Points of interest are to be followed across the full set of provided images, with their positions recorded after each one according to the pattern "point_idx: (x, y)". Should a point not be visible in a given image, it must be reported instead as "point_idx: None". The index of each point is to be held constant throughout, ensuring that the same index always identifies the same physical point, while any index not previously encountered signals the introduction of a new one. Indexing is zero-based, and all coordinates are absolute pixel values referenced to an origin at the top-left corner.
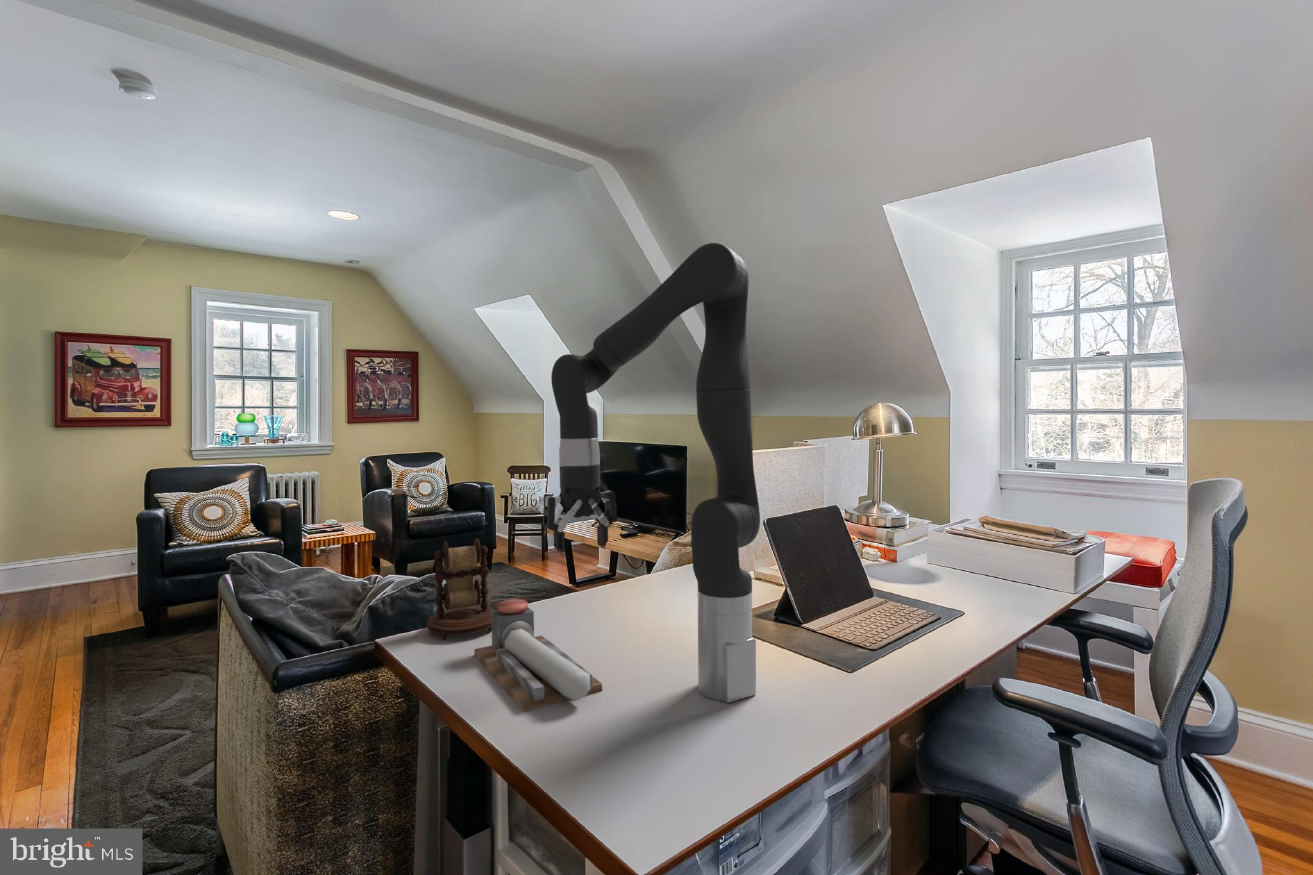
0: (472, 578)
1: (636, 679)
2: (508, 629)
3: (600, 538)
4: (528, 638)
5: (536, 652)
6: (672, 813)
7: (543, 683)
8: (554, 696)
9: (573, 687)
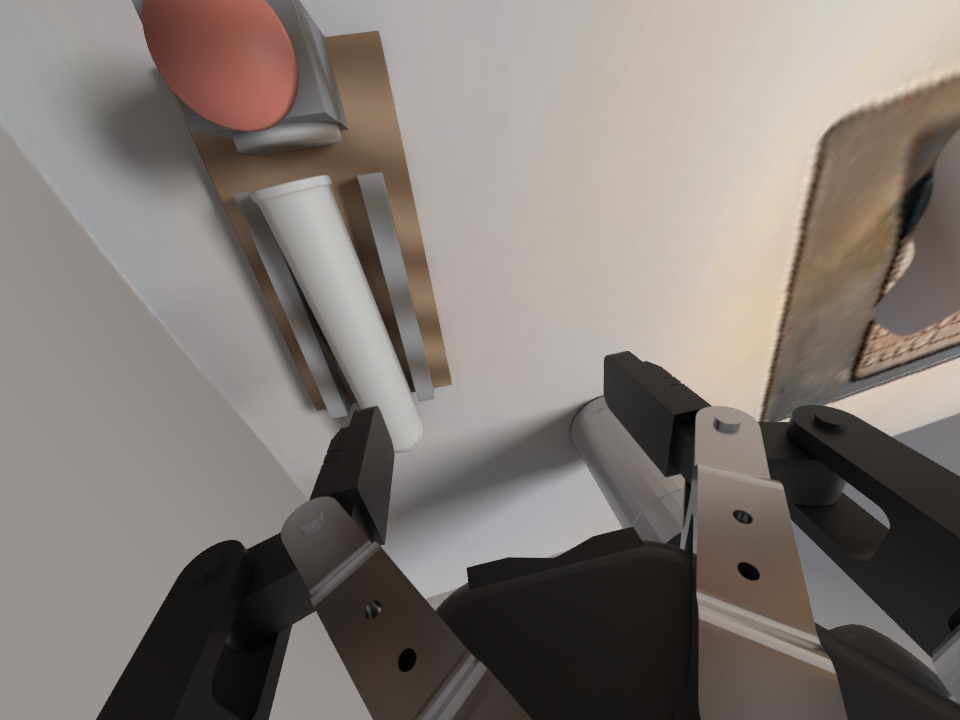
0: None
1: (515, 359)
2: (247, 147)
3: (625, 403)
4: (314, 263)
5: (333, 342)
6: (438, 573)
7: None
8: None
9: None
